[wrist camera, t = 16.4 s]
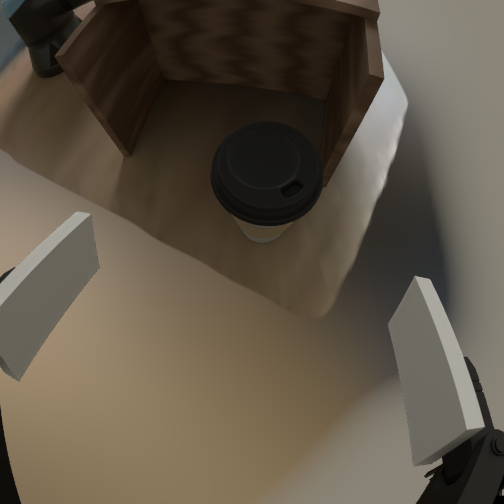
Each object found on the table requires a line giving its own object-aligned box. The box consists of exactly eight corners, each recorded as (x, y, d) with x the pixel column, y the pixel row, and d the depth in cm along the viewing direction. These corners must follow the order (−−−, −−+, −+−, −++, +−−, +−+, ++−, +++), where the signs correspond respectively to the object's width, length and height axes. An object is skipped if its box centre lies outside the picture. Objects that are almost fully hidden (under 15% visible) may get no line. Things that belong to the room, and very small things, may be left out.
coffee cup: (280, 270, 37) (300, 240, 22) (210, 236, 37) (185, 187, 23) (311, 203, 38) (343, 141, 24) (244, 173, 39) (241, 99, 24)
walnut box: (123, 155, 40) (49, 48, 18) (159, 74, 43) (125, -32, 21) (325, 187, 39) (389, 68, 17) (333, 96, 42) (373, -18, 20)
